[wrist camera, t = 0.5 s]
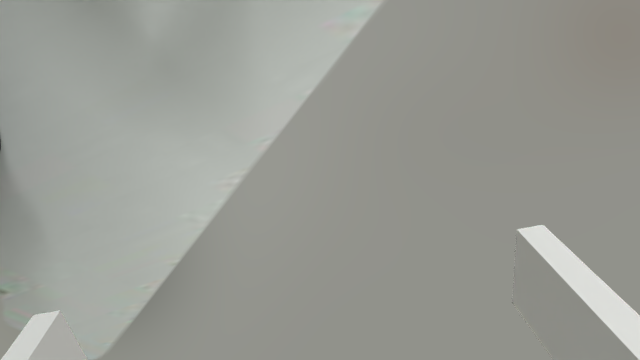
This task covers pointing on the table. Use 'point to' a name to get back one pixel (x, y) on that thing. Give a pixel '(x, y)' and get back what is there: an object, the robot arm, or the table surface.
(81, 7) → the table surface
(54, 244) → the table surface
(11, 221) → the table surface
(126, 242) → the table surface
